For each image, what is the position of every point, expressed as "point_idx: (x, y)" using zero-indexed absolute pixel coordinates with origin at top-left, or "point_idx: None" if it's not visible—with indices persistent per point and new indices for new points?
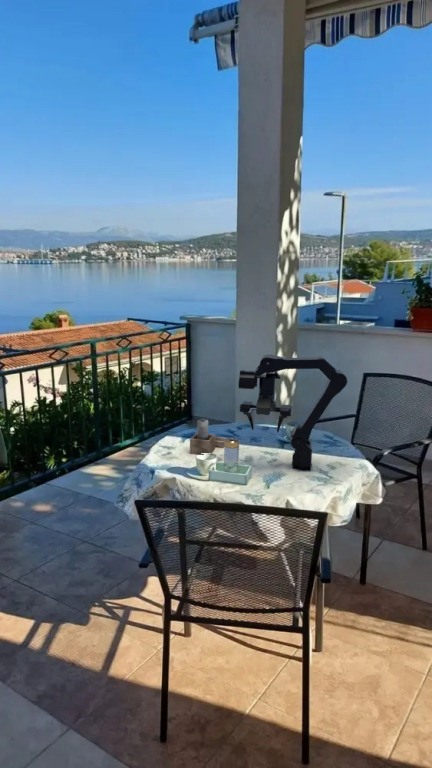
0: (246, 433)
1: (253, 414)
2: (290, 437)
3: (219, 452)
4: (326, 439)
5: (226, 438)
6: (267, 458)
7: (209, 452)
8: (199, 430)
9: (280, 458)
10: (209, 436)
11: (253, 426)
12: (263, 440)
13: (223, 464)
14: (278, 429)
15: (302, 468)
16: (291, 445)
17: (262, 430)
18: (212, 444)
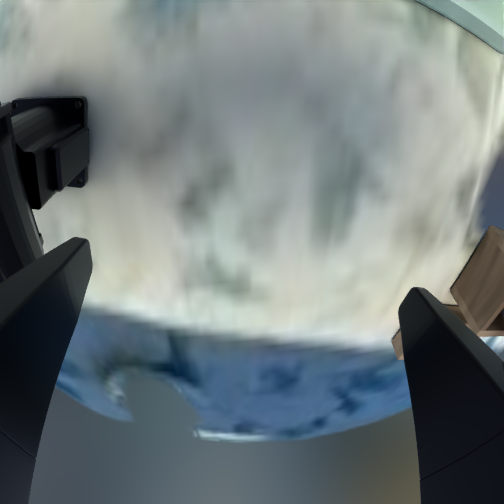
0: (304, 405)
1: (442, 484)
2: (31, 262)
3: (444, 265)
4: (63, 379)
5: (402, 354)
6: (232, 222)
7: (497, 234)
8: None
9: (164, 230)
10: (489, 325)
11: (430, 322)
12: (250, 378)
13: (501, 30)
14: (47, 259)
15: (41, 104)
16: (10, 137)
17: (252, 421)
18: (484, 284)
